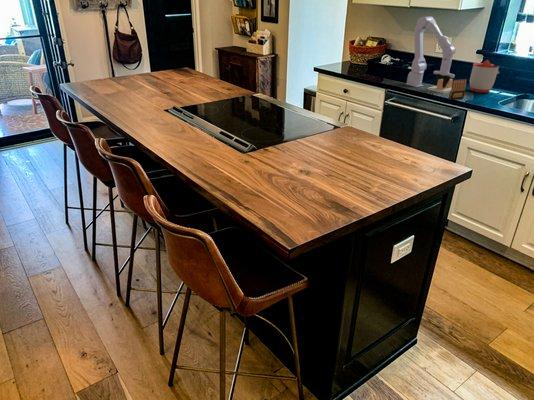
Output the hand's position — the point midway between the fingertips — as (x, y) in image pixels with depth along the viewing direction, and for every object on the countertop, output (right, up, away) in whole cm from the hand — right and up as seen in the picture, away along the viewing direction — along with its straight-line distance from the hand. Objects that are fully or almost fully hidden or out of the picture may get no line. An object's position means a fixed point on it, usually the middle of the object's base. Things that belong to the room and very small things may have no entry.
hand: (441, 86), depth 278 cm
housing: (+2, -2, +2) cm, 4 cm away
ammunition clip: (+2, -12, -17) cm, 21 cm away
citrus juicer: (+28, -2, +3) cm, 28 cm away
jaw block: (0, -2, +1) cm, 2 cm away
